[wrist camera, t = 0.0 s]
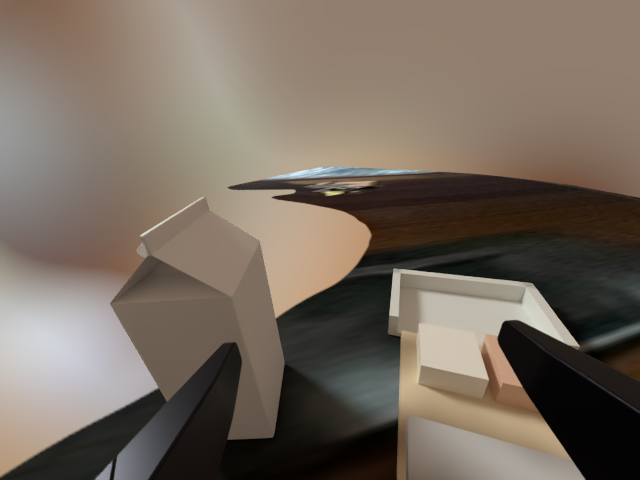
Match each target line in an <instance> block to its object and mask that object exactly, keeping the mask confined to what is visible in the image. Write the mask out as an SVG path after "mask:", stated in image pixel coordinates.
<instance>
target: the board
mask: <svg viewBox="0 0 640 480" xmlns="http://www.w3.org/2000/svg"><path fill="white" fill-rule="evenodd" d="M416 339H417V333H413V332H408V331H402V333H401V349H400V382H399V415H398V448H397V480H406V426H407V420H408V414H409V415H413V416H416V417H420V418H423V419H427V420H431V421H434V422H438V423H441V424H445V425H448V426H452V427H455V428H459V429H462V430H466V431H469V432H473V433H476V434H480V435H483V436H487V437H490V438H494V439H498V440H501V441H505V442H508V443H512V444H515V445H519V446H522V447H526V448H529V449H533V450H536V451H540V452H543V453H547V454H550V455H554V456H557V457H561V458H565V459H568V460H571V458H570V457H569V455H568V454H567V452H566V451H565V449H564V448H563V446H562V445H561V443H560V442H559V441H558V439H557V438H556V436H555V435H554V433H553V432H552V430H551V429H550V427H549V426H548V424H547V423H546V422H545V420H544V419H543V417H542V416H541V414H540V413H539V412H534V411H530V410H526V409H522V408H518V407H514V406H510V405H506V404H501V403H497V402H495V400H494V396H493V393H492V390H491V387H490V383H489V382H488V385H487V387H486V390H485V393H484V395H483V398H482V399H479V398H475V397H471V396H467V395H463V394H459V393H455V392H450V391H446V390H442V389H438V388H434V387H430V386H426V385H422V384H418V368H417V342H416ZM478 346H479V349H481V346H482V345H479V344H478Z"/></svg>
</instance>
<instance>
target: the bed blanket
mask: <svg viewBox="0 0 640 480" xmlns="http://www.w3.org/2000/svg"><path fill="white" fill-rule="evenodd" d="M406 480H585V479H584V477H583V476H582V474H581V473H580V471H579V470H578V468H577V467H576V465H575V464H574V462H573V461H572V460H568V459H565V458H561V457H557V456H554V455H550V454H547V453H543V452H540V451H536V450H533V449H529V448H526V447H522V446H519V445H515V444H512V443H508V442H505V441H501V440H498V439H494V438H490V437H487V436H483V435H480V434H476V433H473V432H469V431H466V430H462V429H459V428H455V427H452V426H448V425H445V424H441V423H438V422H434V421H431V420H427V419H423V418H420V417H416V416H413V415H409V414H408V420H407V426H406Z"/></svg>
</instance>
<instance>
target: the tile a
mask: <svg viewBox="0 0 640 480" xmlns="http://www.w3.org/2000/svg"><path fill="white" fill-rule="evenodd" d="M416 342H417V368H418V384H422V385H426V386H430V387H434V388H438V389H442V390H446V391H450V392H455V393H459V394H463V395H467V396H471V397H475V398H479V399H482V398H483V395H484V393H485V390H486V387H487V385H488V382H489V378H488V375H487V372H486V368H485V365H484V362H483V359H482V356H481V352H480V349H479V346H478V343H477V340H476V336H475V333H474V332H470V331H464V330H458V329H452V328H446V327H440V326H435V325H429V324H423V323H419V325H418V332H417V339H416Z"/></svg>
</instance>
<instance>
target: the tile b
mask: <svg viewBox="0 0 640 480" xmlns="http://www.w3.org/2000/svg"><path fill="white" fill-rule="evenodd" d="M497 337H498V336H495V335H489V334H485V337H484V340H483V343H482V346H481V349H480V352H481V356H482V359H483V362H484V365H485V368H486V372H487V375H488V378H489V383H490V387H491V390H492V393H493V396H494V400H495V402H497V403H501V404H506V405H510V406H514V407H518V408H522V409H526V410H530V411H534V412H539V411H538V410H537V408H536V407H535V405H534V404H533V403H532V401H531V400H530V398H529V396H528V395H527V393H526V392H525V390H524V389H523V387H522V385H521V383H520V382H519V380H518V378H517V376H516V375H515V373H514V371H513V369H512V368H511V366H510V364H509V362H508V361H507V359H506V357H505V355H504V354H503V352H502V350H501V348H500V346H499V344H498V341H497Z"/></svg>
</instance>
